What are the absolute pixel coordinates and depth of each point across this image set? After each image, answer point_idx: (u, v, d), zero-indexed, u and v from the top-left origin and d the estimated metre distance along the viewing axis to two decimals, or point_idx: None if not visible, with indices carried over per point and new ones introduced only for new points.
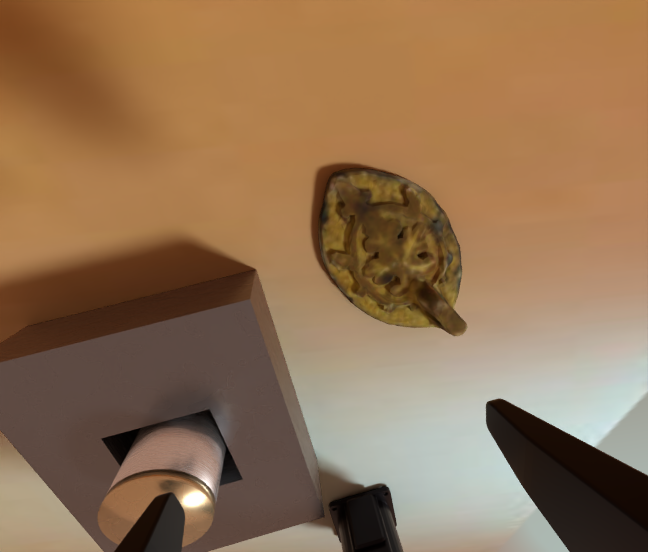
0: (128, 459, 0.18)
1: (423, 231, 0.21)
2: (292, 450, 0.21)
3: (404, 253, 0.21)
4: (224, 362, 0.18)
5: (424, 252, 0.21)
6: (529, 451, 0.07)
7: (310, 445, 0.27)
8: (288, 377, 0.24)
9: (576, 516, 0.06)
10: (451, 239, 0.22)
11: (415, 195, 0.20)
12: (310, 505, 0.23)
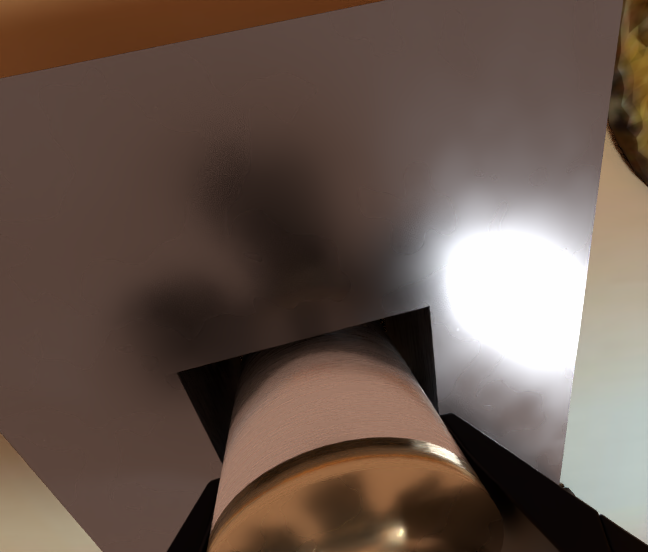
0: (262, 416, 0.07)
1: None
2: (552, 413, 0.10)
3: None
4: (499, 172, 0.07)
5: None
6: None
7: None
8: None
9: (511, 536, 0.06)
10: None
11: None
12: None
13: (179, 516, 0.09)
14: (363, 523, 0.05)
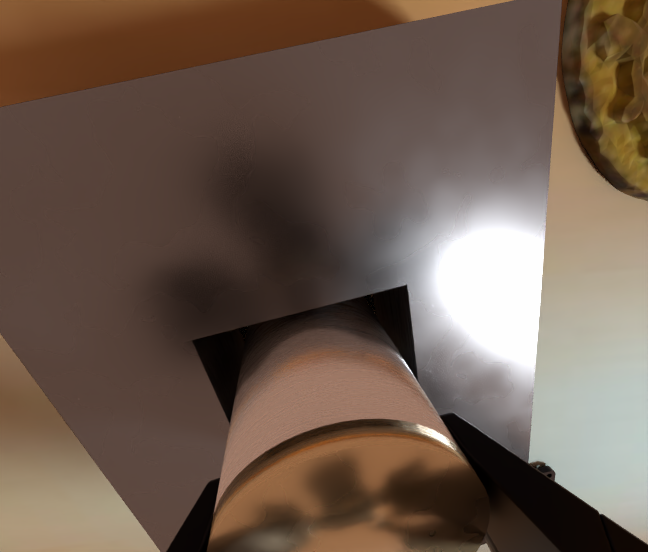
0: (262, 403, 0.07)
1: None
2: (519, 383, 0.12)
3: None
4: (463, 170, 0.08)
5: None
6: None
7: None
8: None
9: (512, 536, 0.06)
10: None
11: None
12: None
13: (191, 471, 0.11)
14: (357, 498, 0.06)
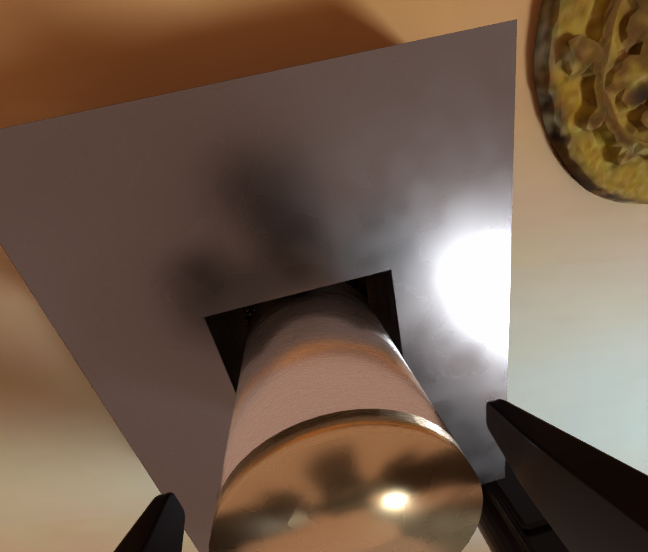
0: (264, 394, 0.07)
1: None
2: (494, 360, 0.13)
3: None
4: (437, 169, 0.10)
5: None
6: (529, 451, 0.07)
7: None
8: None
9: (576, 516, 0.06)
10: None
11: None
12: (491, 458, 0.15)
13: (202, 436, 0.12)
14: (354, 484, 0.06)
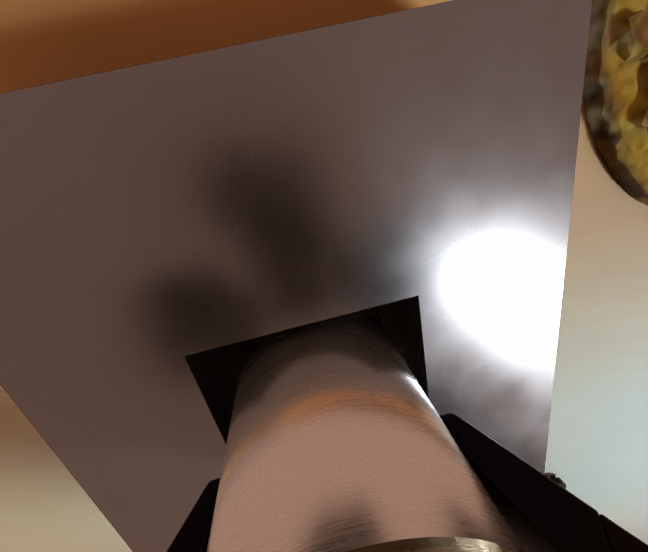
0: (257, 489, 0.05)
1: None
2: (536, 398, 0.11)
3: None
4: (480, 171, 0.08)
5: None
6: None
7: None
8: None
9: None
10: None
11: None
12: None
13: (185, 494, 0.10)
14: None
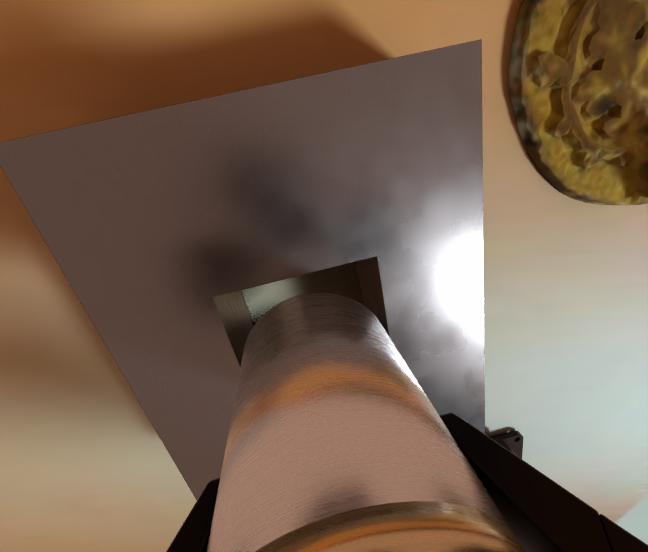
0: (259, 464, 0.06)
1: None
2: (471, 339, 0.15)
3: (636, 65, 0.15)
4: (415, 168, 0.11)
5: None
6: None
7: None
8: None
9: None
10: None
11: None
12: None
13: (209, 406, 0.14)
14: None
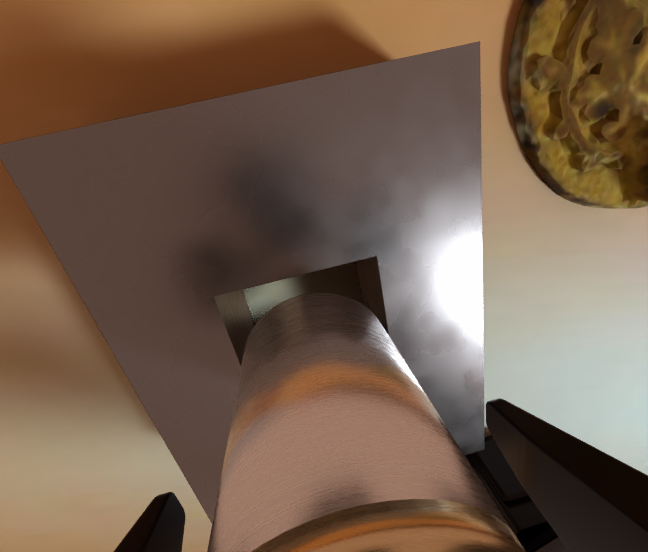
0: (260, 462, 0.06)
1: None
2: (471, 339, 0.15)
3: (634, 70, 0.15)
4: (415, 168, 0.11)
5: None
6: (529, 451, 0.07)
7: None
8: None
9: (576, 516, 0.06)
10: None
11: None
12: (472, 430, 0.17)
13: (210, 405, 0.14)
14: None
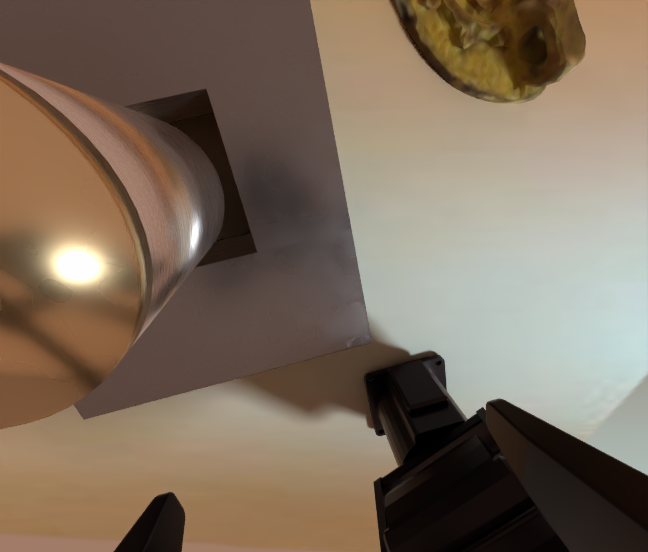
0: None
1: None
2: (332, 202, 0.14)
3: None
4: None
5: None
6: (529, 451, 0.07)
7: None
8: None
9: (576, 516, 0.06)
10: None
11: None
12: (353, 318, 0.16)
13: None
14: None
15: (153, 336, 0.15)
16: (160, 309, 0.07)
